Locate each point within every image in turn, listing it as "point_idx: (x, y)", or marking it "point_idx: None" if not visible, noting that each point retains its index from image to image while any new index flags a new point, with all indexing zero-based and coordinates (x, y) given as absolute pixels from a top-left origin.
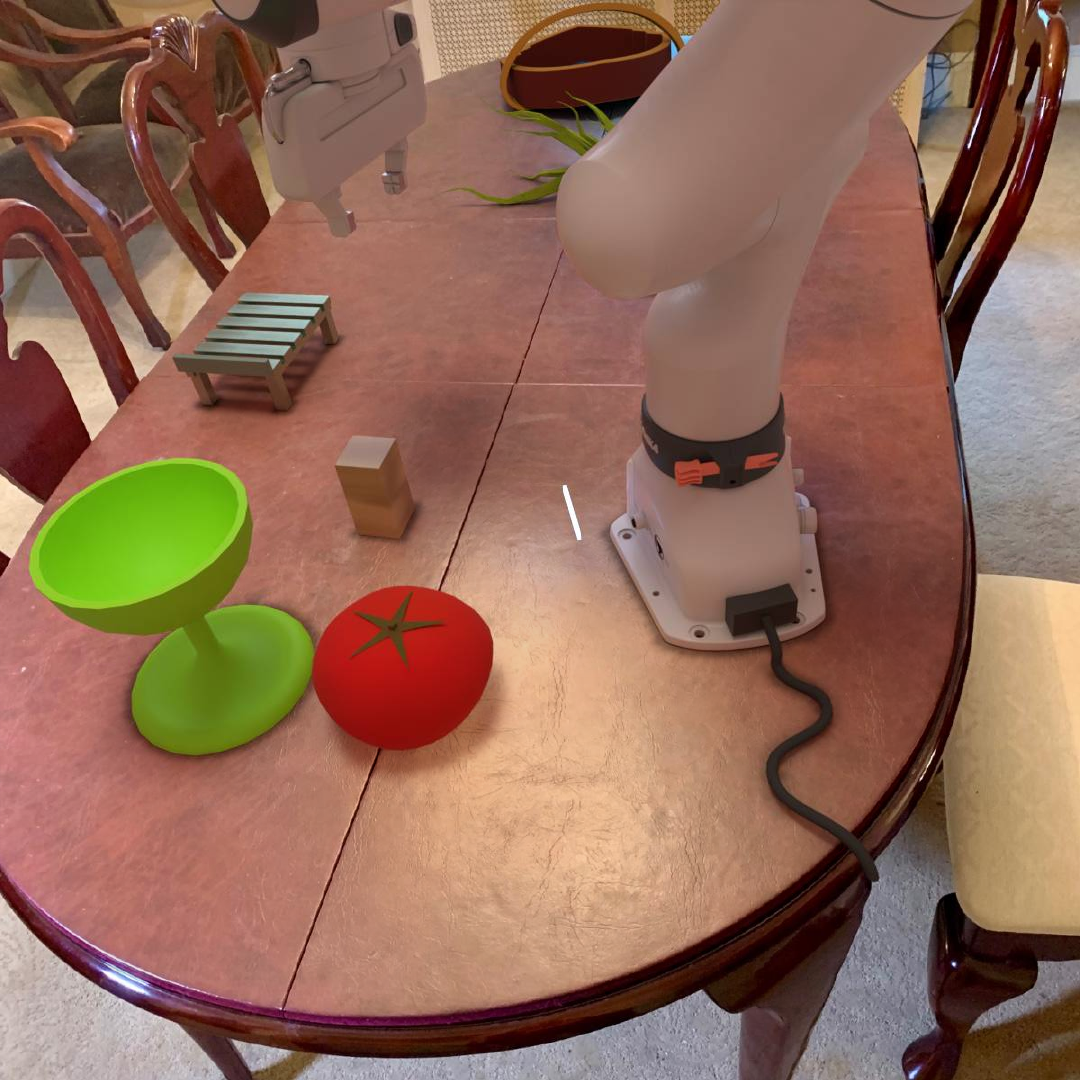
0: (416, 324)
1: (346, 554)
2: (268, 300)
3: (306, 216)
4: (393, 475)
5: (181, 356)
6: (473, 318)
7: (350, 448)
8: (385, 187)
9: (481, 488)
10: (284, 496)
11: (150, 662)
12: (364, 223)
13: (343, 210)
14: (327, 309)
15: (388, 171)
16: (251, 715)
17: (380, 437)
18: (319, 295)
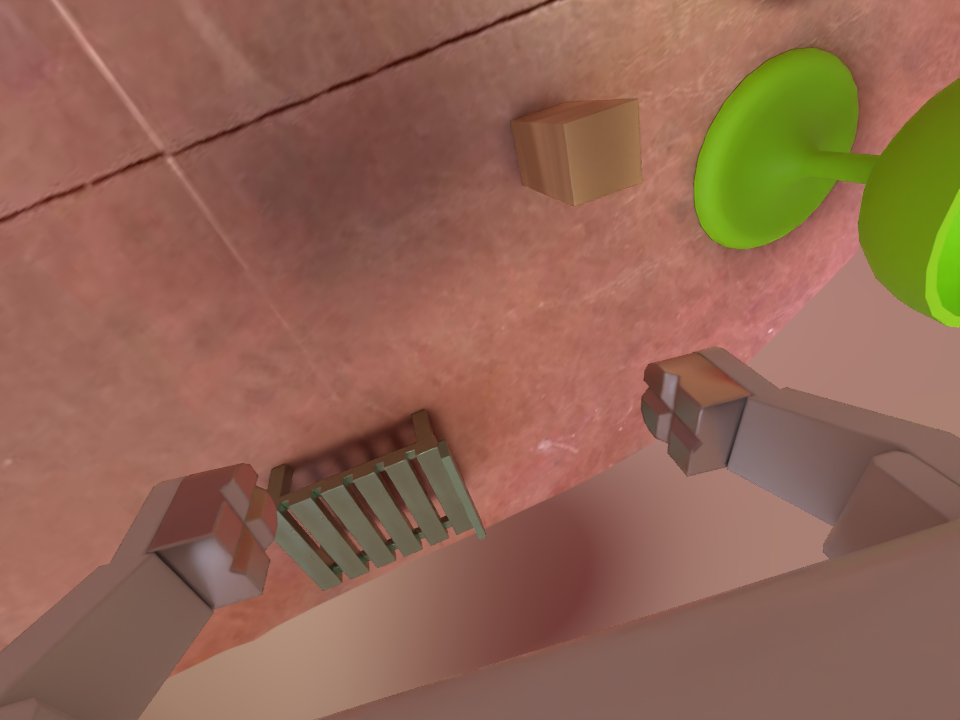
0: (163, 414)
1: None
2: (318, 561)
3: None
4: (579, 110)
5: (481, 531)
6: (68, 352)
7: (604, 185)
8: (270, 532)
9: (433, 37)
10: (546, 300)
11: (781, 231)
12: None
13: (803, 408)
14: None
15: (202, 601)
16: (840, 73)
17: (569, 154)
18: None
